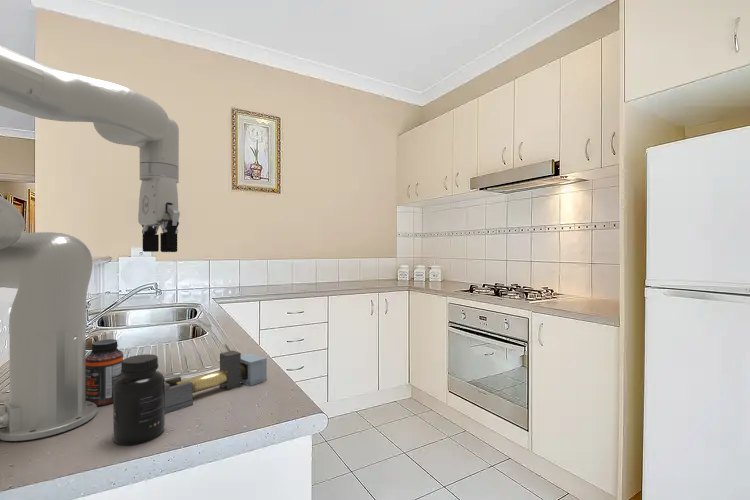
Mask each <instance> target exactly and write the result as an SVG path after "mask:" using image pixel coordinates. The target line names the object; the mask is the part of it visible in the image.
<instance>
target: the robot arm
mask: <svg viewBox="0 0 750 500" xmlns="http://www.w3.org/2000/svg"><path fill="white" fill-rule="evenodd" d="M0 107H3V108H6V109H9V110H13V111H15V112H16V111H17V112H20V113H22V114H26V115H28V116H32V117H34V118H38V119H40V120H41V119H42V120H50V121H56V122H69V123H70V122H71V123H73V122H74V123H75V122H76V123H77V122H79V123H93V127H94V130H95V131H96V132H97V133H98V135H99V136H100V137H101V138H103V139H104V140H106V141H109V142H111V143H114V144H116V145H117V144H118V145H122V146H132V147H136V148H139V180H140V181H141V182H140V183H141V184H140V189H139V198H138V213H137V214H138V217H137V222H138V224H139V225H140V226H141V227H142V230H141V233H142V252H144V253H148V252H150V253H152V252H153V253H155V252H159V251H160V252H162V253H177V252H178V233H179V225H180V222H179V219H180V215H181V214H180V211H179V193H178V185H177V184H179V183H180V180H179V179H180V178H179V177H180V174H179V173H180V172H179V171H180V170H179V169H180V167H179V166H180V164H179V163H180V162H179V161H180V159H179V158H180V157H179V156H180V155H179V153H180V150H179V149H180V146H179V145H180V144H179V143H180V142H179V141H180V139H179V137H180V135H179V133H180V132H179V125H178V123H177V122H176V121H175V120H173V119H171V118H170V117H169V116H168V114H167V112H166V110H165V109H164V108H163V106H161V105H160V104H159V103H158V102H156V101H155V100H153V99H151V98H150V97H148V96H146V95H143V94H141V93H139V92H138V91H135V90H133V89H132V88H129V87H126V86H123V85H120V84H117V83H114V82H110V81H106V80H102V79H98V78H94V77H90V76H85V75H83V74H79V73H74V72H70V71H66V70H61V69H58V68H55V67H52V66H50V65H47V64H45V63H42V62H40V61H37V60H36V59H33V58H30V57H28V56H26V55H24V54H22V53H19V52H17V51H15V50H12V49H11V48H9V47H7V46H3V45H1V44H0ZM25 227H26V222H25V218H24V217H23V214H22V213H21V212H20V210H19V209H18V207H16V206H15V205H14V204H13V203H12V202H10V201H9V200H8V199H6V198H5V197H3V196H1V195H0V288H7V289H17V290H16V294H15V296H14V299H13V301H12V304H11V308H10V314H9V319H8V320H9V321H8V334H9V399H6V400H4V401H3V403H4V404H3V405H2V406H0V440H1V441H7V442H8V441H9V442H19V441H20V442H22V441H23V442H24V441H30V440H36V439H43V438H47V437H51V436H53V435H54V436H55V435H58V434H61V433H64V432H67V431H69V430H73V429H75V428H77V427H80V426H82V425H83V424H85V423H87V422H89V421H90V420H92V419H93V418H94V417H95V416H96V414H97V412H98V411H97V410H98V406H96V404H95V403H93V402H90V401H86V357H87V355H86V353H87V352H86V351H87V348H86V347H87V345H86V344H87V343H86V341H87V340H86V337H87V336H86V333H87V331H86V330H87V329H86V326H87V325H86V313H87V312H86V308H87V296H88V290H89V284H90V280H91V276H92V271H93V257H92V253H91V251H90V249H89V247H88V246H87V245H86V244H85V243H84V242H83V241H82V240H80V239H79V238H77V237H76V236H73V235H70V234H66V233H63V232H54V231H53V232H52V231H50V232H48V231H46V232H45V231H43V232H36V231H35V232H25V229H26V228H25ZM159 229H161V233H160V234H159V233H158V231H159ZM159 239H160V240H159ZM159 243H160V245H159Z"/></svg>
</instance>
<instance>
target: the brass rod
mask: <svg viewBox="0 0 750 500" xmlns="http://www.w3.org/2000/svg"><path fill="white" fill-rule="evenodd" d="M241 355H242V354H241V352H239V351H235V350H229V351H225V352H220V353H219V370H218V371H214V372H210V373H206V374H203V375H199V376H195V377H193V378H187V379H184V380H181V381H180V382H176V383H175V385H179V384H183V383H186V382H192V394H195V393H198V392H201V391H204V390H205V391H206V390H208V389H212V388H215V387H218V386H219V387H220V388H222V389H224V390H226V391H230V390H232V389H236V388H238V387H241V383H242V382H241V379H242V378H246V377H248V365H247V364H243V365H241ZM175 385H174V386H175Z"/></svg>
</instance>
